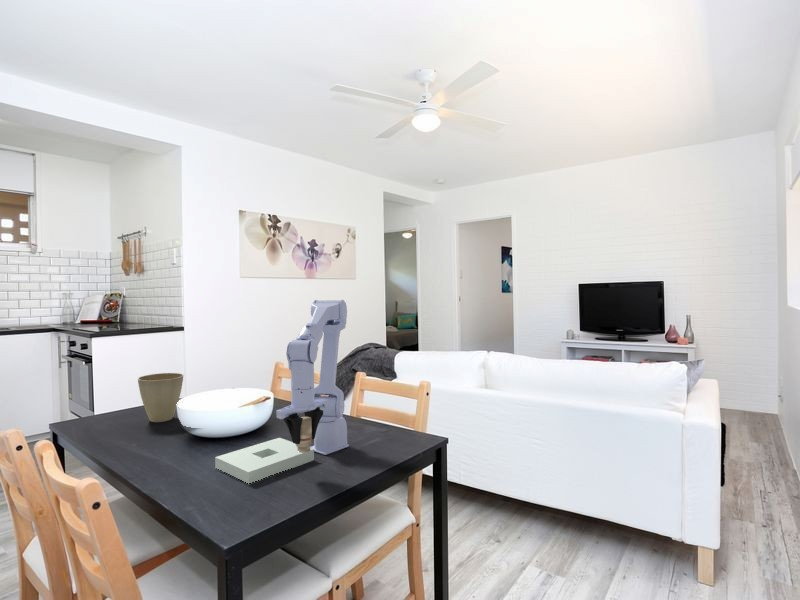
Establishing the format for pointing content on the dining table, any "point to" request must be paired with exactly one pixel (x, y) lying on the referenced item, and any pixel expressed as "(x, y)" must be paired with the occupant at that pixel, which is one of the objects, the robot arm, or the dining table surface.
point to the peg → (305, 435)
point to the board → (262, 460)
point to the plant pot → (160, 394)
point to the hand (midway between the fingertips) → (303, 440)
